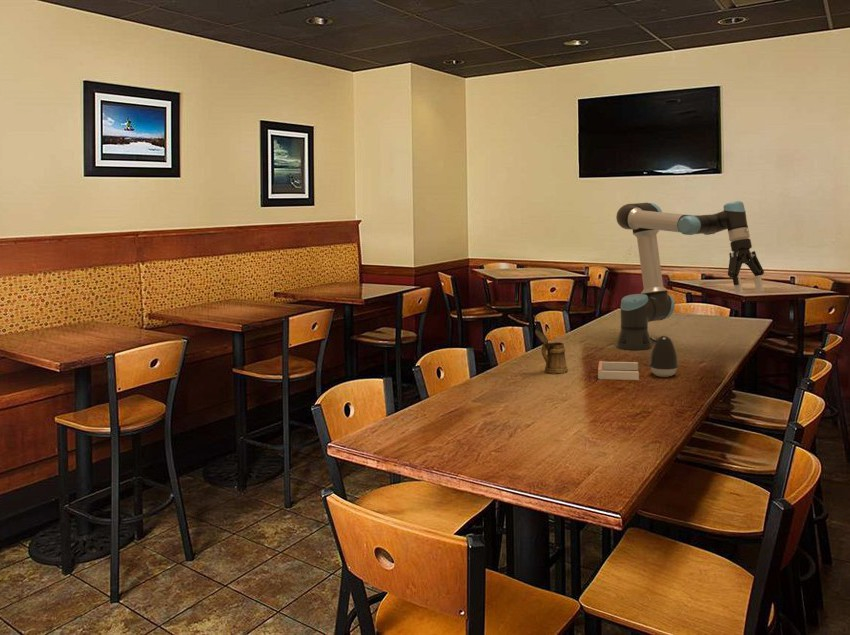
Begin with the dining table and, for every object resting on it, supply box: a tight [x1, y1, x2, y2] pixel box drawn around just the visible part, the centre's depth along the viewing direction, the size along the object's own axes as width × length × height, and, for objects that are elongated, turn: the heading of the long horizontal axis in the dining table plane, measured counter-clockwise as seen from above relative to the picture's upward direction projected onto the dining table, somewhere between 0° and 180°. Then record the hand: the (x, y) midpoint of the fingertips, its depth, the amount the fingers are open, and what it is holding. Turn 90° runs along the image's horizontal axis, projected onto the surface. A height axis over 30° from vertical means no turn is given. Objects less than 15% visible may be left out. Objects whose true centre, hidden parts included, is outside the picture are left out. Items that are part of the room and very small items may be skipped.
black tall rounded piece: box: [649, 335, 679, 378], centre depth 270 cm, size 10×10×15 cm
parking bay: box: [597, 360, 640, 381], centre depth 276 cm, size 16×15×3 cm
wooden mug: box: [534, 328, 569, 374], centre depth 282 cm, size 9×14×18 cm, turn 112°
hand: (749, 292), depth 284 cm, fingers open, 13 cm apart
